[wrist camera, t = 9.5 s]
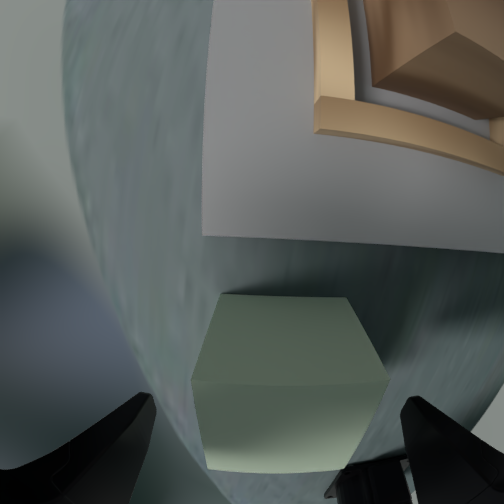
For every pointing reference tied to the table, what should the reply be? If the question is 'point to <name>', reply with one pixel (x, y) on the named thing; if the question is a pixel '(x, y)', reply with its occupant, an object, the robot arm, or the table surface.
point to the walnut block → (440, 52)
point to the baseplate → (336, 139)
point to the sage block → (285, 384)
